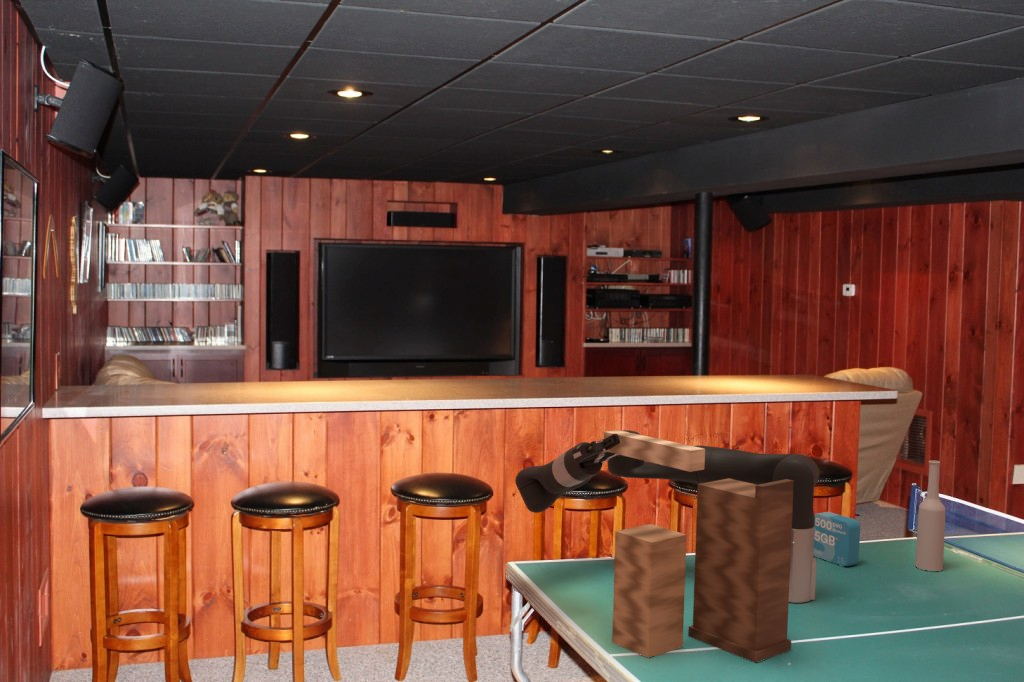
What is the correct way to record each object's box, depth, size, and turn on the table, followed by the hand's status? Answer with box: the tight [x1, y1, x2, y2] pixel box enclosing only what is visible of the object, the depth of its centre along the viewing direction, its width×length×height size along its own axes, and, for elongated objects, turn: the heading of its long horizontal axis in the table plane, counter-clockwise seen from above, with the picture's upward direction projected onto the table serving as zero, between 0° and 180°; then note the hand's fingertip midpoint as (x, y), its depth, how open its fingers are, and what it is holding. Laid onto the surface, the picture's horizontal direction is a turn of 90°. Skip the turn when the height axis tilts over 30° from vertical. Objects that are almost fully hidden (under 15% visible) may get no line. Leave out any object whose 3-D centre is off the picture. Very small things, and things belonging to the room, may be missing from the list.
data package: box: [813, 511, 861, 567], centre depth 259 cm, size 12×4×12 cm, turn 31°
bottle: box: [914, 459, 946, 571], centre depth 253 cm, size 7×7×28 cm
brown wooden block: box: [603, 429, 705, 472], centre depth 197 cm, size 24×4×4 cm, turn 38°
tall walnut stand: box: [687, 478, 794, 663], centre depth 199 cm, size 17×11×34 cm, turn 39°
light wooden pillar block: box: [611, 523, 687, 658], centre depth 198 cm, size 10×10×23 cm
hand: (625, 437), depth 202 cm, fingers closed on brown wooden block, 4 cm apart
